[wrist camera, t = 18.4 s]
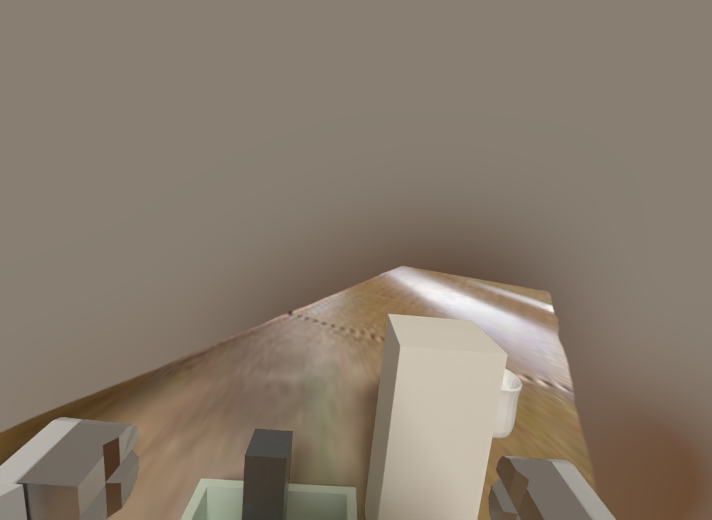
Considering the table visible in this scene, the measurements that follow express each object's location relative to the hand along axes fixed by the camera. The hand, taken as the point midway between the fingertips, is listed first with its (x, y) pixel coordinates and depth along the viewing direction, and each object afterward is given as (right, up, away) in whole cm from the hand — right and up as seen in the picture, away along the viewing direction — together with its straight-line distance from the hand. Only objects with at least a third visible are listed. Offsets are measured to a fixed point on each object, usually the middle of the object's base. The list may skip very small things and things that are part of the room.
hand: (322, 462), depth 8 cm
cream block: (+7, -28, +33) cm, 44 cm away
